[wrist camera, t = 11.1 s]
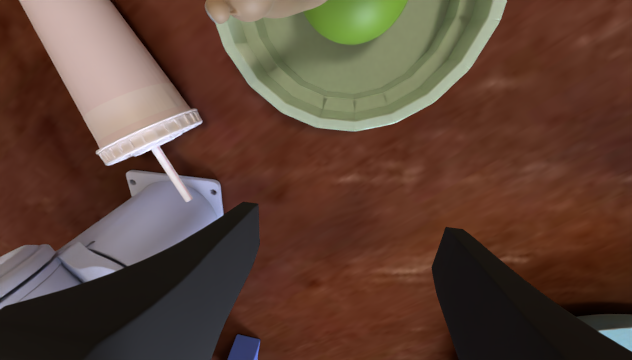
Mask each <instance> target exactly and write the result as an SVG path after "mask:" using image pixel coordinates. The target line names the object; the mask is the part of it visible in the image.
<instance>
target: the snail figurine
mask: <svg viewBox="0 0 632 360" xmlns="http://www.w3.org/2000/svg"><path fill="white" fill-rule="evenodd" d="M407 2H408V0H206V3H205V9H206V12H207V14H208V16H209V17H210V18H211V20H212V21H214V22H215V23H218V24H223V23H225V22H226V21H227V20H228V19H229V16H230V15H232V16H233V17H235V18H236V19H238V20H240V21H244V22H253V21H257V20H259V19H261V18H263V17H265V18H284V17H288V16H291V15H294V14H297V13H300V12H303V13H304V15H305V17H306V18H307V20H308V21H309V23H310V24H311V25H312V27H313V28H314V29H315V30H316V31H317V32H318V33H320V34H321V35H322V36H324V37H325V38H327V39H329V40H331V41H333V42H336V43H340V44H347V45H354V44H361V43H365V42H368V41H371V40H373V39H375V38H377V37H378V36H380V35H381V34H383V33H384V32H385V31H387V30H388V29H389V28H390V27H391V26H392V25H393V24H394V23H395V21H396V20H397V19H398V18H399V16H400V15H401V13H402V12H403V10H404V8H405V6H406V4H407Z"/></svg>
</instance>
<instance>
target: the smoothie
mask: <svg viewBox="0 0 632 360" xmlns="http://www.w3.org/2000/svg"><path fill="white" fill-rule="evenodd" d="M19 1H20V3H21V5H22V7H23V9H24V10H25V12H26V14H27V16H28V18H29V20H30V21H31V23H32V25H33V27H34V29H35V31H36V32H37V34H38V36H39V38H40V40H41V42H42V43H43V45H44V47H45V49H46V51H47V53H48V54H49V56H50V58H51V60H52V62H53V64H54V65H55V67H56V69H57V71H58V73H59V75H60V76H61V78H62V80H63V82H64V84H65V85H66V87H67V89H68V91H69V93H70V95H71V96H72V98H73V100H74V102H75V104H76V106H77V107H78V109H79V111H80V113H81V115H82V117H83V119H84V121H85V123H86V124H87V126H88V128H89V130H90V131H91V133H92V135H93V137H94V138H95V140H96V142H97V144H98V146H99V148H100V149H98V150H97V151H96V154H98V155H99V156H100V157H101V159H102V160H103V162H104V163H105V165H108V166H109V165H113V164H115V163H118V162H120V161H123V160H125V159H127V158H130V157H132V156H135V157H136V156H138V155H141V154H143V153H145V152H148V151H150V150H151V151H152V152H153V154H154V155H155V157H156V158H157V160H158V161H159V163H160V164H161V166H162V167H163V169H164V170H165V172H166V173H167V175H168V176H169V178H170V179H171V181H172V182H173V184H174V185H175V187H176V188H177V190H178V191H179V193H180V194H181V196H182V197H183V199H184V200H185V202H188V201H190V200H192V199H193V197H192V196H191V194H190V193H189V191H188V189H187V188H186V186H185V185H184V183H183V182H182V180H181V179H180V177H179V176H178V174H177V173H176V171H175V169H174V168H173V166H172V165H171V163H170V162H169V160H168V159H167V157H166V156H165V154H164V152H163V151H162V149H161V148H160V145H163V144H164V143H167V142H169V141H171V140H173V139H175V138H176V137H178V136H179V135H182V133H184V132H186V131H188V130H190V129H192V128H194V127H196V126H198V125H200V124H201V123H202V119H201V117H200V116H199V114H198V112H197V109H195V108H193V109H191V108H190V107H189V106H188V105H187V103H186V102H185V100H184V99H183V98H182V96H181V95H180V93H179V92H178V91H177V89H176V88H175V86H174V85H173V84H172V83H171V81H170V80H169V79H168V77H167V76H166V75H165V73H164V72H163V71H162V69H161V68H160V67H159V65H158V64H157V63H156V61H155V60H154V59H153V57H152V56H151V55H150V53H149V52H148V51H147V49H146V48H145V46H144V45H143V44H142V42H141V41H140V40H139V38H138V37H137V36H136V34H135V33H134V32H133V30H132V29H131V28H130V26H129V25H128V24H127V22H126V21H125V20H124V18H123V17H122V16H121V14H120V13H119V12H118V10H117V9H116V8H115V6H114V5H113V4H112V2H111V1H110V0H19Z"/></svg>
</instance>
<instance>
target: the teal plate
mask: <svg viewBox="0 0 632 360" xmlns="http://www.w3.org/2000/svg"><path fill="white" fill-rule="evenodd" d="M577 318H578V319H580V320H581V321H583V322H584V323H586V324H588V325H589V326H591V327H592V328H594V329H595V330H597V331H599V332H600V333H602V334H603V335H605V336H607V337H608V338H610V339H612V340H613V341H615V342H617V343H618V344H620V345H622V346H623V347H625V348H627V349H628V350H630V351H632V315H630V314H598V315H587V316H578V317H577Z"/></svg>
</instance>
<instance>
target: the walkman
mask: <svg viewBox="0 0 632 360" xmlns="http://www.w3.org/2000/svg"><path fill="white" fill-rule="evenodd" d="M259 345H260V339H256V338H252V337H247V336H243V335H239V334H237V336H236V339H235V341H234V344H233V346H232V349H231V351H230V354H229V356H228V359H227V360H257V358H258V351H259Z"/></svg>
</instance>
